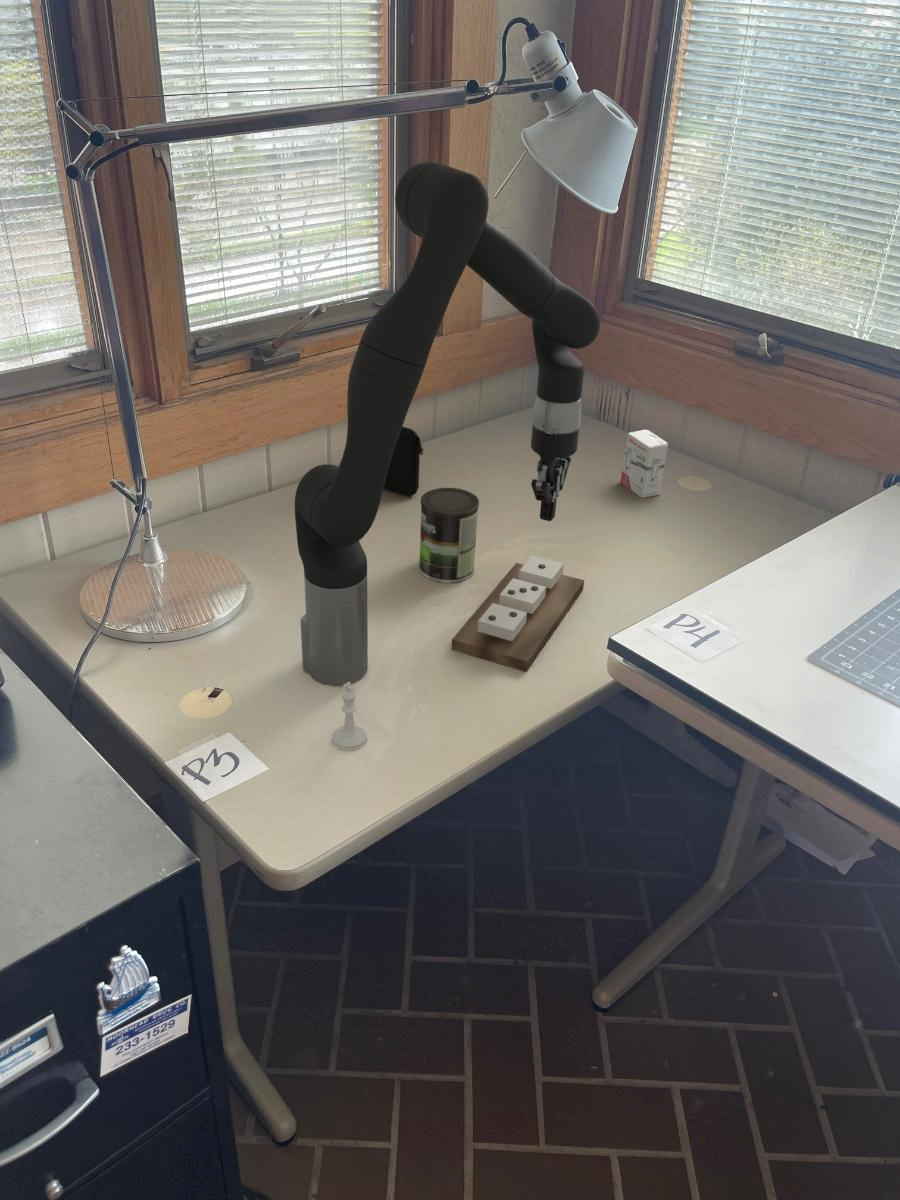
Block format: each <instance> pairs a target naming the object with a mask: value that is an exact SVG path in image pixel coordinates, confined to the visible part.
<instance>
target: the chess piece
mask: <svg viewBox="0 0 900 1200" xmlns="http://www.w3.org/2000/svg"><path fill="white" fill-rule="evenodd" d="M342 688H343V689H345V690H344V691H343V692H341V698H342V700H343V704H342V706H341V712H343V713H344V715H345V716H344V723H343V725H342V726H340V727H337V728H336V729H335V730H334V731H333V733H332V739H331V742H332V744H333V746H334V747H336V748H338V750H341V751H346V752H349V751H350V752H353V751H356V750H359V749H361V748H363V747H364V746H366V744H367V742H368V737H367V733H366V730H364V728H362V727H361V726H357V725H355V718H354V713H355V712H356V711H357V710H358V708H357V705H356V704H355V700H356V697H357V693H356V692H355V688H354V687H353V686H352V683H350V682H347V683H346V684H344V685H342Z"/></svg>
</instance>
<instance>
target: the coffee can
mask: <svg viewBox="0 0 900 1200" xmlns="http://www.w3.org/2000/svg"><path fill="white" fill-rule="evenodd" d="M479 507H480V500H479V498H478V496H477V495H475V494H474V493H473V492H470V491H468V490H466V489H461V488H456V487H439V488H434V489H430V490H428V491H427V492H424V494H422V496H421V498H420V534H419V535H420V536H419V541H420V542H419V564H418V571H419V573H420V574H421V575H422V576H423V577H424V578H425V579H428V580H430V581H432V582H436V583H442V584H456V583H461V582H464V581H466V580H468V579H470V578H471V577H472V576H473V575H474V573H475V560H476V559H475V558H476V543H477V529H478V528H477V527H478V514H479Z"/></svg>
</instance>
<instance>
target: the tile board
mask: <svg viewBox="0 0 900 1200" xmlns="http://www.w3.org/2000/svg"><path fill="white" fill-rule="evenodd" d="M523 566H524V564H523V563H518V562H515V564H514V565H513V566H512V567H511V568H510V570H508V572H507V574H505V576H504V577H503V578H502V579H501V580H500V582H499V583H498V584H497V585H496V586H495V588H494V589H493V590H492V591H491V592H490V594H489V595H487V597H486V598H485V599H484V601H483V602H482V603H481V604H480V605H479V606H478V608H477V609H476V610H474V611H475V612H473V614H472V615H471V616H470V617H469V618H468V620H467V621H466V622H465V623H464V625H463V626H462V627H461V628H460V629H459V630H458V632H456V634H455V635H454V636H453V637H452V639H451V651H454V652H458V653H461V654H465V655H469V656H472V657H476V658H478V659H481V660H485V661H489V662H492V663H494V664H495V663H496V664H498V665H501V666H505V667H509V668H513V669H516V670H518V671H522V672H526V673H527V672H528V671H529V669H530V668H531V667H532V665H533V664H534V662H535V660H536V659H537V658H538V657H539V655H540V653H541V652H542V650H543V649H544V648H545V646H546V645H547V643H548V642H549V640H550V639H551V637H552V636H553V634H554V633H555V632H556V630H557V629H558V627H559V626H560V624H561V623H562V621H563V620H564V619H565V617H566V615H567V614H568V613H569V611H570V610H571V608H572V606H573V605H574V604H575V602H576V601H577V600H578V598H579V597H580V595H581V594H582V592H583V591H584V585H585V579H581V578H577V577H574V576H570V575H565V574H562V575H561V576H560V578H559V579H558V580H557V582H556V583H555V584H554V586H553V587H552V588H551V589H550V588H546V594H545V598H544V599H543V601H542V602H541V603H540V605H539V606H538V607H537V609H536V610H535V611H534V613H533V614H531V613H527V617H526V624H525V625H524V626H523V628H522V629H521V630H520V632H519V633H518V634H517V636H516V637H515V638H514V640H513V641H510V640H506V639H503V638H499V637H496V636H492V635H489V634H485V633H482V632H478V620H479V619H480V618H481V617H482V616H483V614H484V613H485V612H486V611H487V609H488V608H489V607H490V606H491V605H492V603H494V604H498V605H499V598H500V594H501V592H502V591H503V590H504V589H505V588H506V586H507V585H508V584H509V583H510V581H511V580H512V579H513V578H514V579H518V580H519V571H520V569H521V568H522V567H523ZM512 609H513V608H512Z"/></svg>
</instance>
